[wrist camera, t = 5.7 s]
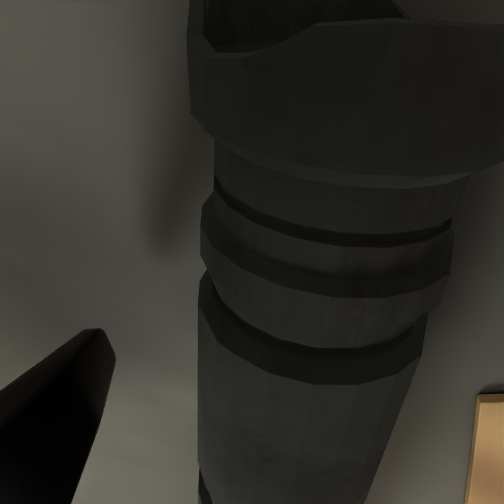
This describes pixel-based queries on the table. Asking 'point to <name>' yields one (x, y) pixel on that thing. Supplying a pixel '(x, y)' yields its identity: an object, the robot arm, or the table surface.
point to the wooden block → (487, 452)
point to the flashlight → (326, 228)
